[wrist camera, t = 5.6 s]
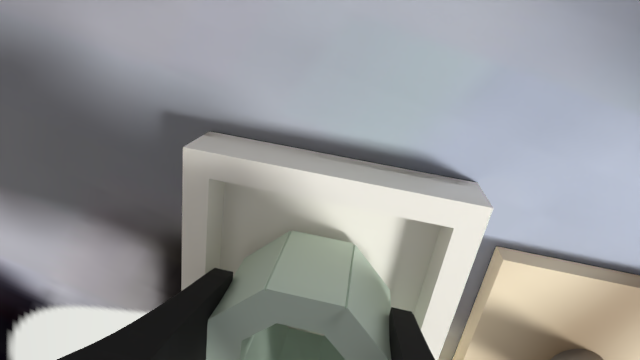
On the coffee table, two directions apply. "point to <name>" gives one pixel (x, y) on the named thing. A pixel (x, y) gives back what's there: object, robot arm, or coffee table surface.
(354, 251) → the ring
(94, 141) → the coffee table surface
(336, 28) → the coffee table surface
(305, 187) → the tray
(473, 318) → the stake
